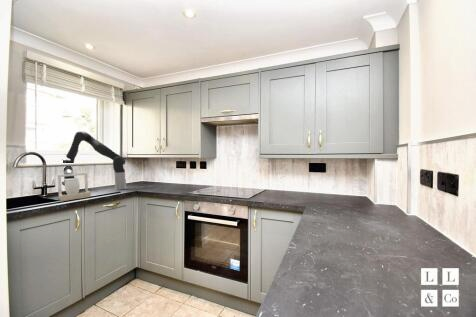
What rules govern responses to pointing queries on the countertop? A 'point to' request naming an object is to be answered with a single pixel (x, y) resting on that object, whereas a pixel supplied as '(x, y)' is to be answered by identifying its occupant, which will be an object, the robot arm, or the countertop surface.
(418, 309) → the countertop surface
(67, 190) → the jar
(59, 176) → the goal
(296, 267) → the countertop surface
